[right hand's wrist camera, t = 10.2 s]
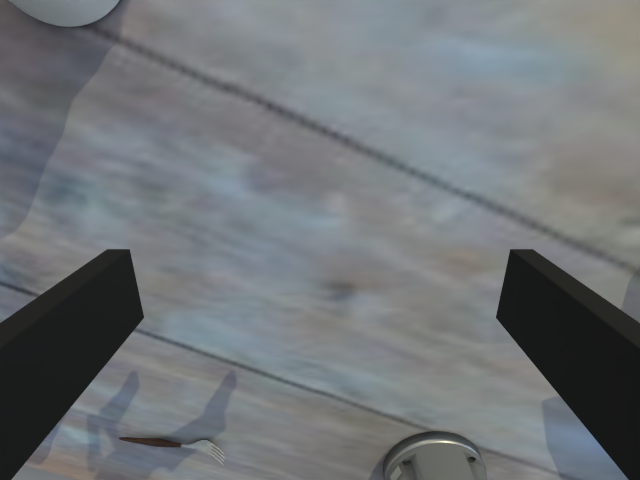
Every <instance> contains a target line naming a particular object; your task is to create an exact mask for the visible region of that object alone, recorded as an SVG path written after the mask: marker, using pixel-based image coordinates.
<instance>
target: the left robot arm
mask: <svg viewBox="0 0 640 480" xmlns="http://www.w3.org/2000/svg"><path fill="white" fill-rule="evenodd" d="M8 1H10V2H11V3H12V4H14V5H15V6H16V7H18V8H19V9H20V10H22V11H23V12H25V13H26V14H28V15H30V16H32V17H34V18H36V19H38V20H40V21H43V22H45V23H49V24H52V25H57V26H64V27H75V26H83V25H87V24H90V23H93V22H95V21H97V20H99V19H101V18H102V17H104V16H105V15H106V14H108V13H109V12H110V11H111V10H112V9H113V8H114V7H115V6H116V5H117V3H118V2H119V1H120V0H8Z"/></svg>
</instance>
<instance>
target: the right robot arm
mask: <svg viewBox="0 0 640 480" xmlns="http://www.w3.org/2000/svg"><path fill="white" fill-rule="evenodd" d="M143 318H144V315H143V311H142V306H141V301H140V296H139V292H138V287H137V282H136V278H135V273H134V268H133V263H132V259H131V254H130V249H107V250H106V251H104V252H103V253H101V254H100V255H98V256H97V257H96V258H94V259H93V260H91V261H90V262H88V263H87V264H85V265H84V266H83V267H81V268H80V269H78V270H77V271H75V272H74V273H72V274H71V275H69V276H68V277H67V278H65V279H64V280H62V281H61V282H59V283H58V284H56V285H55V286H53V287H52V288H51V289H49V290H48V291H46V292H45V293H43V294H42V295H40V296H39V297H38V298H36V299H35V300H33V301H32V302H30V303H29V304H27V305H26V306H24V307H23V308H22V309H20V310H19V311H17V312H16V313H14V314H13V315H11V316H10V317H9V318H7V319H6V320H4V321H3V322H1V323H0V480H11V479H12V478H13V477H14V476H15V474H16V473H17V472H18V471H19V469H20V468H21V467H22V466H23V465H24V463H25V462H26V461H27V460H28V459H29V457H30V456H31V455H32V454H33V452H34V451H35V450H36V449H37V448H38V446H39V445H40V444H41V443H42V441H43V440H44V439H45V438H46V437H47V435H48V434H49V433H50V432H51V430H52V429H53V428H54V427H55V426H56V424H57V423H58V422H59V421H60V419H61V418H62V417H63V416H64V415H65V413H66V412H67V411H68V410H69V409H70V407H71V406H72V405H73V404H74V402H75V401H76V400H77V399H78V398H79V396H80V395H81V394H82V393H83V391H84V390H85V389H86V388H87V387H88V385H89V384H90V383H91V382H92V380H93V379H94V378H95V377H96V376H97V374H98V373H99V372H100V371H101V369H102V368H103V367H104V366H105V365H106V363H107V362H108V361H109V360H110V358H111V357H112V356H113V355H114V354H115V352H116V351H117V350H118V349H119V347H120V346H121V345H122V344H123V343H124V341H125V340H126V339H127V338H128V337H129V335H130V334H131V333H132V332H133V330H134V329H135V328H136V327H137V326H138V324H139V323H140V322H141V321H142V319H143ZM496 318H497V319H498V321H499V322H500V323H501V324H502V326H503V327H504V328H505V329H506V330H507V332H508V333H509V334H510V335H511V337H512V338H513V339H514V340H515V341H516V343H517V344H518V345H519V346H520V347H521V349H522V350H523V351H524V352H525V354H526V355H527V356H528V357H529V358H530V360H531V361H532V362H533V363H534V365H535V366H536V367H537V368H538V369H539V371H540V372H541V373H542V374H543V376H544V377H545V378H546V379H547V380H548V382H549V383H550V384H551V385H552V387H553V388H554V389H555V390H556V391H557V393H558V394H559V395H560V396H561V398H562V399H563V400H564V401H565V402H566V404H567V405H568V406H569V407H570V409H571V410H572V411H573V412H574V413H575V415H576V416H577V417H578V418H579V419H580V421H581V422H582V423H583V424H584V426H585V427H586V428H587V429H588V430H589V432H590V433H591V434H592V435H593V437H594V438H595V439H596V440H597V441H598V443H599V444H600V445H601V446H602V448H603V449H604V450H605V451H606V452H607V454H608V455H609V456H610V457H611V459H612V460H613V461H614V462H615V463H616V465H617V466H618V467H619V468H620V470H621V471H622V472H623V473H624V474H625V476H626V477H627V478H628V479H629V480H640V323H639V322H637V321H636V320H634V319H633V318H631V317H630V316H629V315H627V314H626V313H624V312H623V311H621V310H620V309H618V308H617V307H616V306H614V305H613V304H611V303H610V302H608V301H607V300H605V299H604V298H602V297H601V296H600V295H598V294H597V293H595V292H594V291H592V290H591V289H589V288H588V287H587V286H585V285H584V284H582V283H581V282H579V281H578V280H576V279H575V278H573V277H572V276H571V275H569V274H568V273H566V272H565V271H563V270H562V269H560V268H559V267H557V266H556V265H555V264H553V263H552V262H550V261H549V260H547V259H546V258H544V257H543V256H542V255H540V254H539V253H537V252H536V251H534V250H533V249H510V254H509V259H508V263H507V268H506V273H505V278H504V282H503V287H502V292H501V296H500V301H499V306H498V311H497V315H496ZM383 474H384V480H487V476H486V468H485V465H484V462H483V460H482V458H481V455H480V453H479V451H478V449H477V448H476V447H475V445H474V444H473V443H471V442H470V441H469V440H467V439H466V438H464V437H462V436H459V435H456V434H453V433H447V432H428V433H422V434H418V435H415V436H412V437H410V438H408V439H406V440H404V441H402V442H401V443H399V444H398V445H396V446H395V447H394V448H393V449H392V450H391V451H390V453H389V454H388V455H387V457H386V459H385V462H384V466H383Z"/></svg>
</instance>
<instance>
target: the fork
mask: <svg viewBox="0 0 640 480" xmlns="http://www.w3.org/2000/svg"><path fill="white" fill-rule="evenodd" d="M119 439H120V440H124V441H128V442H134V443H140V444H145V445H150V446H156V447H187V448H192V449H196V450H199V451H202V452H205V453H207V454H209V455H211V456H213V457H214V458H215V459H217V460H218V461H219V462H220V463H221V464H222V465H224V464H223V463H222V462H221V461H220V460H219V459H218V458H217V457H219V458H220V459H221V460H222V461H223V462H225V461H224V460H223V459H222V458H221V457H220V456H222V457H223V458H224V459H225V457H224V456H223V455H225V454H224V453H223V452H222V451H221V450H220V449H219V448H218V447H217V446H215V445H214V444H213V443H211V442H209V441H208V440H200V441H197V442H195V443H193V444H190V445H186V444H181V443H176V442H172V441H167V440H162V439H147V438H128V437H123V438H119ZM212 446H213V447H215V448H216V449H217V450H219V451H220V452H221V453H222V454H223V455H222V454H220V453H219V452H218V451H217V450H216V449H215V448H213V447H212ZM213 450H214V451H215V452H217V453H218V454H219V455H220V456H219V455H218V454H216V453H215V452H214V451H213ZM211 452H212V453H213V454H215V455H216V456H217V457H216V456H215V455H213V454H212V453H211Z"/></svg>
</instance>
